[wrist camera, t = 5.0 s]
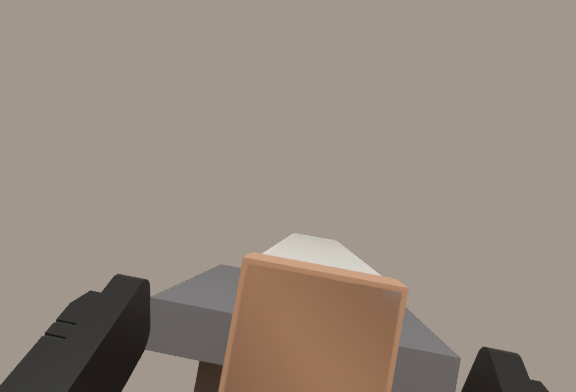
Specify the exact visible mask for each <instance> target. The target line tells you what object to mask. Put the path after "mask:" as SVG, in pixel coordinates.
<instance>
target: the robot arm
mask: <svg viewBox="0 0 576 392" xmlns="http://www.w3.org/2000/svg"><path fill="white" fill-rule="evenodd" d="M149 334H150V283H149V281H148V280H147V279H142V278H137V277H131V276H126V275H121V274H117V275H115V276H114V277H113V278H112V279H111V281H110V282H109V283H108V285H107V286H106V287H105V288H104V290H103V291H102V292H101V293H100V292H95V291H89V292H88V293H86V294H84V295H82V296H81V297H79V298H78V299H76V300H74V301H73V302H71V303H70V304H69V305H68V306H67V307H66V309H65V310H64V311H63V312H62V313H61V315H60V316H59V317H58V318H57V320H56V322H55V323H53V324H52V325H51V326H50V328H49V329H48V330H47V331H46V332H45V335H44V337H43V336H42V337H41V338H40V339H39V340H38V342H37V343H36V344H35V345H34V346H33V348H32V349H31V350H30V351H29V352H28V353H27V355H26V356H25V357H24V358H23V359H22V360H21V362H20V363H19V364H18V365H17V366H16V367H15V369H14V370H13V371H12V372H11V373H10V375H9V376H8V377H7V378H6V379H5V381H4V382H3V383H2V384H1V385H0V392H121V391H122V390H123V388H124V386H125V384H126V382H127V381H128V379H129V377H130V376H131V374H132V372H133V370H134V368H135V366H136V365H137V363H138V361H139V359H140V358H141V356H142V354H143V352H144V350H145V348H146V345H147V342H148V338H149ZM461 392H549V391H548V390H547V389H546V388H545V386H544V385H543V384H542V383H541V382H539V381H534V380H530V379H529V376H528V374H527V371H526V368H525V366H524V363H523V361H522V359H521V357H520V356H519V355H518V354H517V353H513V352H508V351H503V350H498V349H493V348H488V347H482V348H481V349H480V350H479V352H478V354H477V356H476V359H475V361H474V363H473V366H472V368H471V370H470V373H469V375H468V377H467V380H466V382H465V384H464V386H463V389H462V391H461Z"/></svg>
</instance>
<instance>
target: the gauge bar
mask: <svg viewBox="0 0 576 392" xmlns="http://www.w3.org/2000/svg"><path fill="white" fill-rule="evenodd" d="M407 294H408V287H406V286H404V285H403V284H402V283H400V282H399V281H397V280H396V279H394V278H389V277H384V276H381V275H380V274H378V273H377V272H376V271H374V270H373V269H372V268H371V267H369V266H368V265H367V264H365V263H364V262H363V261H361V260H360V259H359V258H358V257H356V256H355V255H354V254H353V253H351V252H350V251H349V250H348V249H346V248H345V247H343V245H341V244H340V243H338V242H337V241H336V240H330V239H325V238H319V237H314V236H308V235H303V234H297V233H293V234H292V235H290V236H289V237H287V238H285V239H284V240H282V241H281V242H280V243H278V244H276V245H275V246H273V247H272V248H270V249H269V250H267V251H266V252H264V253H262V254H261V253H255V252H252V253H250V254H248V255H246V256H244V257H243V261H242V266H241V271H240V277H239V282H238V288H237V293H236V299H235V304H234V309H233V315H232V320H231V326H230V331H229V337H228V342H227V347H226V353H225V358H224V364H223V369H222V374H221V380H220V385H219V391H218V392H391V389H392V383H393V377H394V371H395V365H396V359H397V353H398V347H399V341H400V335H401V330H402V324H403V318H404V312H405V305H406V299H407Z"/></svg>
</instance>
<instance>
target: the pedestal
mask: <svg viewBox="0 0 576 392" xmlns="http://www.w3.org/2000/svg"><path fill="white" fill-rule="evenodd" d="M240 271H241V268H236V267H232V266H226V265H219V266H217V267H214V268H212V269H210V270H208V271H206V272H204V273H201V274H199V275H197V276H195V277H193V278H191V279H189V280H186V281H184V282H182V283H180V284H178V285H175V286H173V287H171V288H169V289H167V290H165V291H163V292H160V293H158V294H156V295H154V296H152V297H150V334H149V338H148V342H147V345H146V348H145V350H149V351H154V352H159V353H164V354H169V355H174V356H179V357H184V358H189V359H194V360H198V361H199V367H198V372H197V377H196V383H195V388H194V392H218V391H219V385H220V380H221V374H222V369H223V364H224V358H225V353H226V347H227V342H228V337H229V331H230V326H231V320H232V315H233V309H234V304H235V299H236V293H237V288H238V282H239V277H240ZM459 366H460V357H459V356H458V355H457V354H456V353H455V352H453V351H452V350H451V349H450V348H449V347H448V346H447V345H446V344H445V343H444V342H443V341H442V340H440V338H438V337H437V336H436V335H435V334H434V333H433V332H432V331H431V330H430V329H429V328H428V327H427V326H425V325H424V324H423V323H422V322H421V321H420V320H419V319H418V318H416V316H415V315H413V314H412V313H411V312H410V311H409V310H408V309H407V308H406V307H405V312H404V318H403V324H402V330H401V335H400V341H399V347H398V353H397V359H396V365H395V371H394V377H393V383H392V389H391V392H455V390H456V384H457V378H458V370H459Z"/></svg>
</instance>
